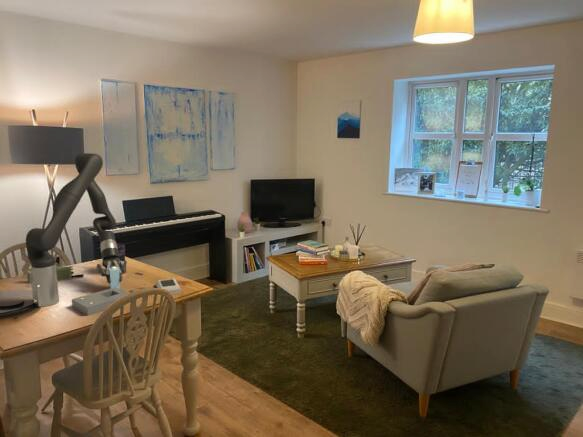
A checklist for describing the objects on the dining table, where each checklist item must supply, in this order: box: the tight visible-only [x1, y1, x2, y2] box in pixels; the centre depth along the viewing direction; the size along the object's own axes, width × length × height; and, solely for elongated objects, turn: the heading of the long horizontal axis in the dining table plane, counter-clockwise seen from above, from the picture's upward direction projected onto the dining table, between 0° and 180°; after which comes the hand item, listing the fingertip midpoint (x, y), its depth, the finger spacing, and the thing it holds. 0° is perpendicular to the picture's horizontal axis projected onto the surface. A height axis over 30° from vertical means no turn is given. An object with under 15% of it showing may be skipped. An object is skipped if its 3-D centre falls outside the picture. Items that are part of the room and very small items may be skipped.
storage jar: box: [116, 242, 127, 274], centre depth 238 cm, size 10×10×15 cm
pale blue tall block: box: [109, 267, 121, 289], centre depth 210 cm, size 4×4×11 cm
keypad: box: [155, 277, 182, 295], centre depth 215 cm, size 10×4×15 cm
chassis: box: [71, 287, 129, 316], centre depth 195 cm, size 20×14×4 cm
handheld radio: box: [26, 265, 85, 284], centre depth 226 cm, size 7×3×25 cm
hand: (115, 282), depth 209 cm, fingers closed on pale blue tall block, 4 cm apart
